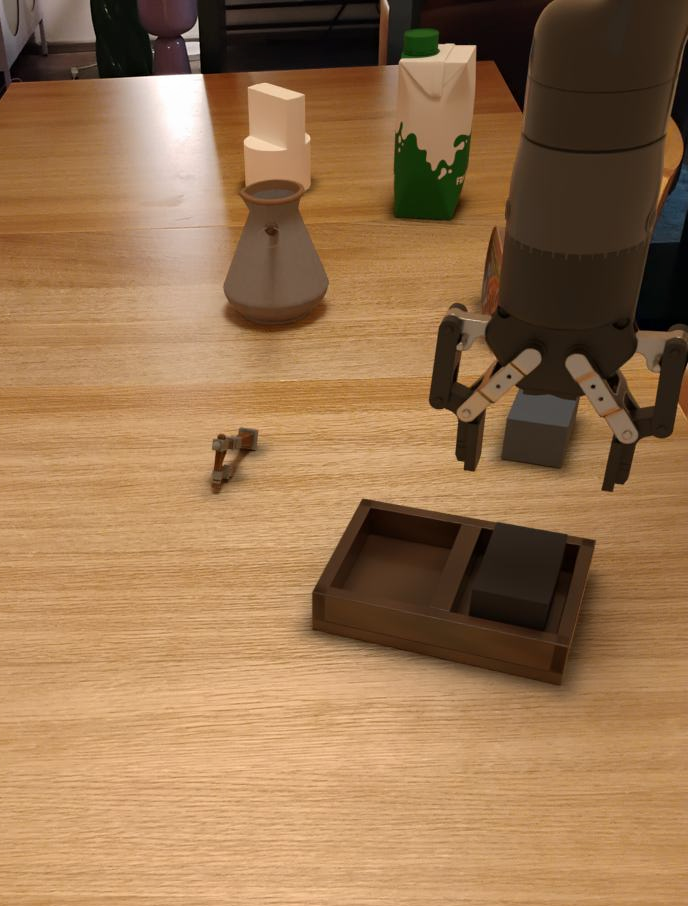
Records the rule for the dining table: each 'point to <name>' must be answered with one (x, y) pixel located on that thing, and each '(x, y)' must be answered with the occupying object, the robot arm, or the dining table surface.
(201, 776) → the dining table surface
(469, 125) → the milk carton
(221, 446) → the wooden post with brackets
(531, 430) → the pad
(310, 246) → the coffee pot
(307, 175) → the cylinder with rectangular tab
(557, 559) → the dark brown rectangular block
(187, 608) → the dining table surface
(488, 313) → the tin
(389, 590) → the divided wooden tray
